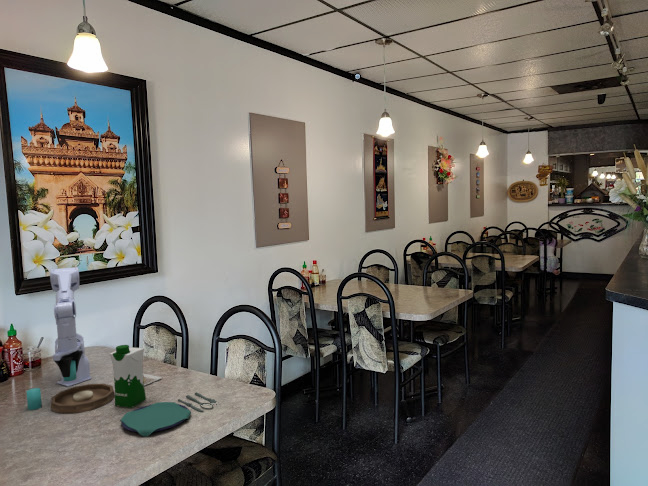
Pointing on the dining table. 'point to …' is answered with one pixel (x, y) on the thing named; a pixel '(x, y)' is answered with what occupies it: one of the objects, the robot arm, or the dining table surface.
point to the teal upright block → (71, 372)
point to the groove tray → (77, 407)
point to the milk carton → (128, 376)
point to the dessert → (150, 377)
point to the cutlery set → (160, 416)
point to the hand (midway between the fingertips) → (70, 374)
